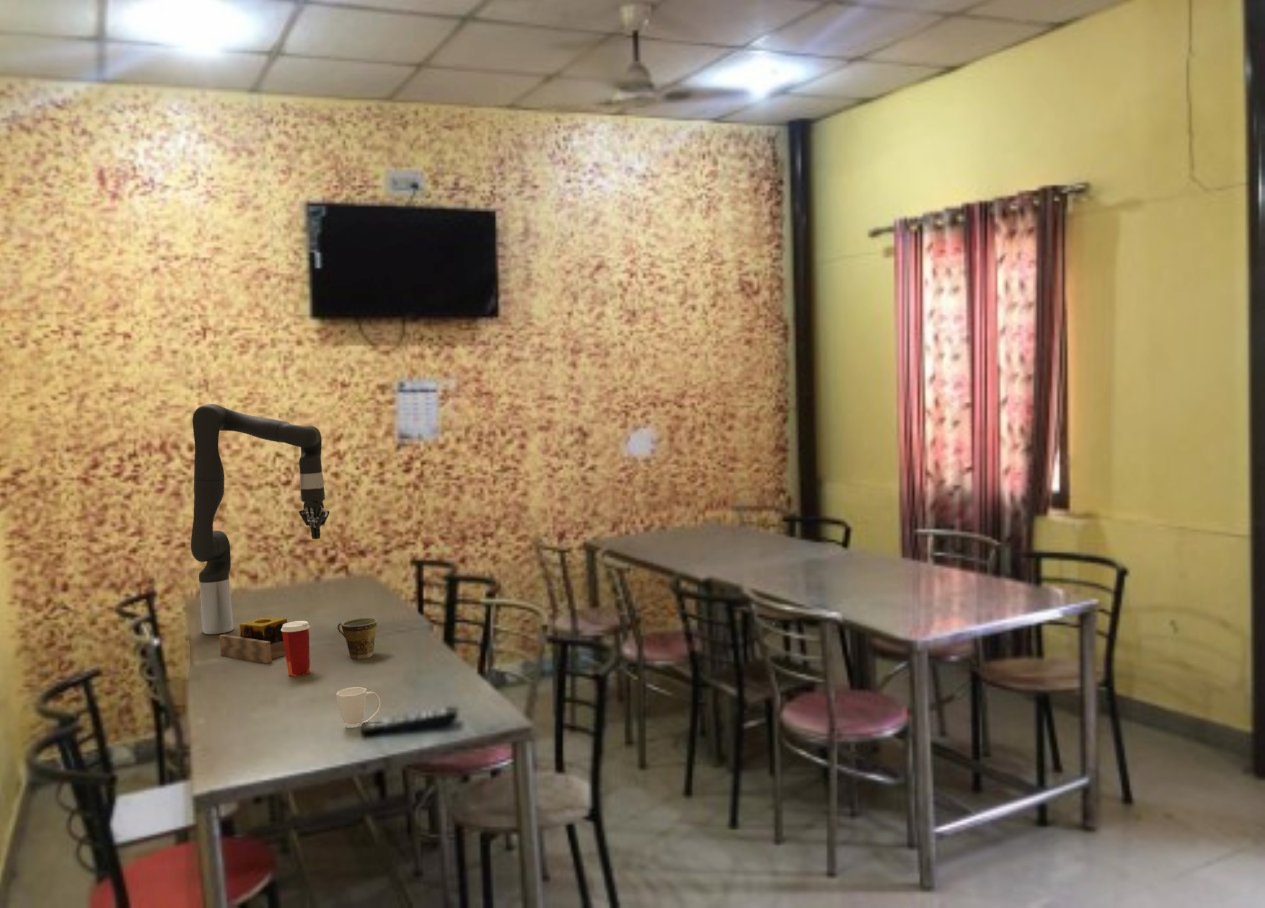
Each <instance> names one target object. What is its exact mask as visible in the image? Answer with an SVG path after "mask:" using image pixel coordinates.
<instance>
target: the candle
mask: <svg viewBox="0 0 1265 908" xmlns="http://www.w3.org/2000/svg"><path fill="white" fill-rule="evenodd" d="M285 623H288V618H286V617H271V616H269V617H267V616H263V617H258V618H255V619H253V620H249V621H246V622H243V623H239V624H238V625H239V631H240V634H239V637H244V638H250V639H257V640H263V641H269V642H270V644H272V643H276V642H279V641H283V642H284V640H283V633H282V631H281V629H282V626H283V624H285ZM284 650H285V648H284Z"/></svg>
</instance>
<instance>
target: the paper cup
mask: <svg viewBox="0 0 1265 908" xmlns="http://www.w3.org/2000/svg"><path fill="white" fill-rule="evenodd" d="M310 628H311V626H310V625H309V622H308V621H306V620H296V621H294V620H293V621H290V622H287V623H285V624H283V626H282V629H281V631H282V633H283V640H284V648H285V655H284V656H285V659H286V661H285V662H286V667H287V673H288V676H289V675H291V676H290V677H300V676H299V675H302V676H304V675H303V674H306V675H308V674H310V672H311V671H310V670H311V669H310V666H311V665H310V663H311V662H310V660H311V659H310V657H311V656H310V655H311V654H310ZM307 673H308V674H307Z"/></svg>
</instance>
